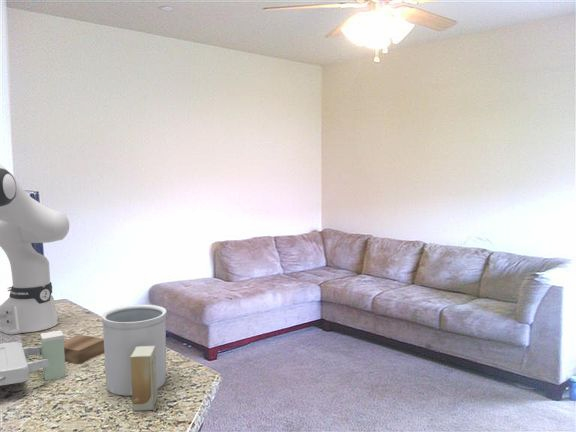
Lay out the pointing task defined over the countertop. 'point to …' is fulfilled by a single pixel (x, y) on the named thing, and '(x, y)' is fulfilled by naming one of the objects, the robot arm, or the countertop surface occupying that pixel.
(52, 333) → the canister
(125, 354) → the utensil holder
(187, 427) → the countertop surface
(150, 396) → the skincare box
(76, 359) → the walnut block
